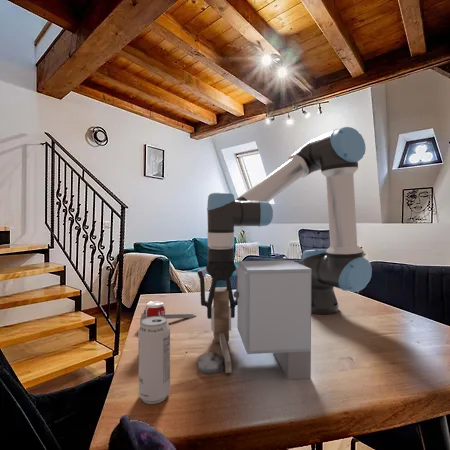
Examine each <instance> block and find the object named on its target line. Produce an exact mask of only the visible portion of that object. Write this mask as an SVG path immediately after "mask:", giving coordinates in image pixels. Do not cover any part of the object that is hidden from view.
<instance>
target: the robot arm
mask: <svg viewBox="0 0 450 450" xmlns="http://www.w3.org/2000/svg"><path fill="white" fill-rule="evenodd" d="M366 151H367V150H366V143H365V139H364V137H363V135H362V134H361V133H360V132H359V131H358V130H357V129H355V128H354V127H352V126H351V127H350V126H344V127H340V128H335V129H333V130H331V131H329V132H327V133H324V134H322V135H319V136H317V137H315V138H312V139H311V140H309V141H307V143H305V144H303V146H301V147H300V148H299V149H297V150H296V151H295V152H294V153H292V154H290V156H289V157H288V160H287V161H286V162H285V163H284V164H282V165H281V166H280V167H278V168H277V169H275V170H274V171H273V172H271V173H270V174H268V175H267V176H265V177H264V178H263V179H262V180H260V181H259V182H258V183H256V184H255V185H254V186H252V187H250V188H249V189H248V190H247V191H245V192H244V193H242V194H241V195H240V196H238V197H237V198H236V199H235V195H234V193H232V192H213V193H209V195H208V196H207V204H206V205H207V207H206V211H207V212H206V213H207V246H208V247H209V248H207V264H206V266H205V267H204V268H201V269H198V270H197V276H198V278H199V286H200V287H199V288H200V291H199V292H200V305H201V306H202V307H205V308H206V310H207V312H206V316H207V319H209V320H210V330H211V332H213V331H214V305H213V297H214V291H215V288H216V286H217V283H218V282H219V281H224V282H225V285H226V286H225V287H227V290H228V291H229V332H230V331H232V319H235V316H236V314H235V313H236V311H235V310H236V306H237V298H235V297H234V295H233V294H234V292H233V289H232V284H231V277H232V275H233V274H234V272H235V276H236V281H237V280H238V267H237V266H236V264H235V249H234V248H233V247H234V246H235V227H259V228H260V227H265V226H269V225H270V224H271V222H272V221H273V217H274V210H273V207H272V204H271V203H270V201H272V200H273V199H274V198H276V196H279V194H281V193H282V192H283V191H284V190H286V189H287V188H289V187H290V186H291V185H292V184H294V183H295V182H296V181H298V180H299V179H301V178H303V179H304V178H306V177H307V176H309V175H310V174H312V173H314V172H318V171H320V173H321V174H322V175H323V176H325V181H326V193H327V194H326V196H327V197H326V198H327V209H328V210H327V211H328V212H327V213H328V214H327V215H328V228H329V229H328V231H329V242H330V243H329V247H327V248H322V249H306V250H304V251H303V252H302V257H301V258H302V259H301V265H304V266H306V267H308V268H310V269H311V314H317V315H331V314H335V313H337V312H339V302H338V299H337V297H336V293H335V288H337V289H340V290H342V291H345V292H352V293H358V292H360V291H362V290H364V289H365V288H366V287H367V285H368V283H369V282H370V281H371V278H372V274H373V273H372V271H373V268H372V264H371V263H370V262H369V260H368V259H366V258H365V257H364V254H363V249H362V248H361V247H359V245H358V234H357V233H358V231H357V217H356V216H357V215H356V214H357V213H356V200H355V198H356V197H355V181H354V180H355V177H354V174H355V173H356V171H358V170H359V161H361V160H362V159H363V158H364V155H365V154H366ZM206 273H208V275H209V276H210V277H211V282H210V288H209V293H208V297H207V300H206V291H205V289H206V288H205V285H206V284H205V277H206V275H207V274H206ZM235 287H236V290H235V291H237V284H236V286H235ZM234 298H235V299H234Z"/></svg>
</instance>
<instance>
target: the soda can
mask: <svg viewBox="0 0 450 450" xmlns="http://www.w3.org/2000/svg"><path fill="white" fill-rule="evenodd" d="M144 309H145V312H146V318H148V317H153V316H161V317H165V314H166V306H165V302H164V301H162V300H152V301H149V302H147V303H146V307H145V308H144Z"/></svg>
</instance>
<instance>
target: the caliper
mask: <svg viewBox="0 0 450 450" xmlns="http://www.w3.org/2000/svg"><path fill="white" fill-rule="evenodd" d="M145 309H146V308H144V309H143V312H141V315H140V318H139V321H140V323H139V327H140V326H141V324H142V320H143V319H145V318H146V312H145ZM194 317H197V315H196V314H195V313H193V312H189V313H188V312H184V313H183V312H182V313H179V312H178V313H176V312H175V313H165V318H166V319H167V320H169V319H191V318H194Z"/></svg>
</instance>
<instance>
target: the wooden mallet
mask: <svg viewBox="0 0 450 450" xmlns="http://www.w3.org/2000/svg"><path fill="white" fill-rule="evenodd" d="M212 305H214V331H212V333H213V341H214V343H219V346H220V351H221V355H222V356H223V357H224V370H225V371H224V372H225V373H226V374H229V373H230V374H231V373H232V359H231V355H230V351H229V347H228V342H230V331H229V305H230V301H229V291H228V290H227V287H226V286H222V287H220V286H219V287H216V288H215V291H214V297H213V302H212Z"/></svg>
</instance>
